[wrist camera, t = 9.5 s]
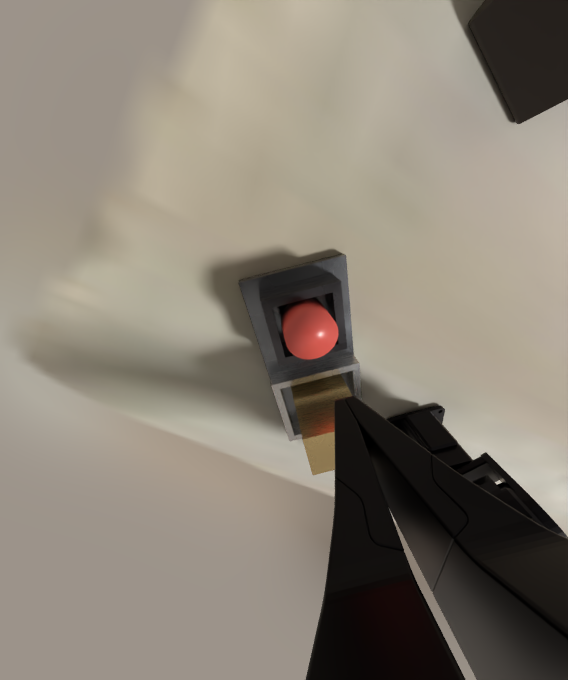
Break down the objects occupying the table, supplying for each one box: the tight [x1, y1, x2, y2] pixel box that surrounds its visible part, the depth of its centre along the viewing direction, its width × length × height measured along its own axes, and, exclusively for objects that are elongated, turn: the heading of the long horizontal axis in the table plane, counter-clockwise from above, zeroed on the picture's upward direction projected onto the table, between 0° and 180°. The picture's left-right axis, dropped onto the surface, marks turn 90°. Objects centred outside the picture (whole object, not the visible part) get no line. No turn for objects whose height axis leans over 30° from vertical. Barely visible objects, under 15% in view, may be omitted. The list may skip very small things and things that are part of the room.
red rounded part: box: [281, 298, 338, 359], centre depth 16 cm, size 3×3×3 cm
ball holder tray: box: [239, 254, 362, 441], centre depth 19 cm, size 16×8×3 cm, turn 12°
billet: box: [291, 374, 352, 475], centre depth 19 cm, size 4×4×6 cm
